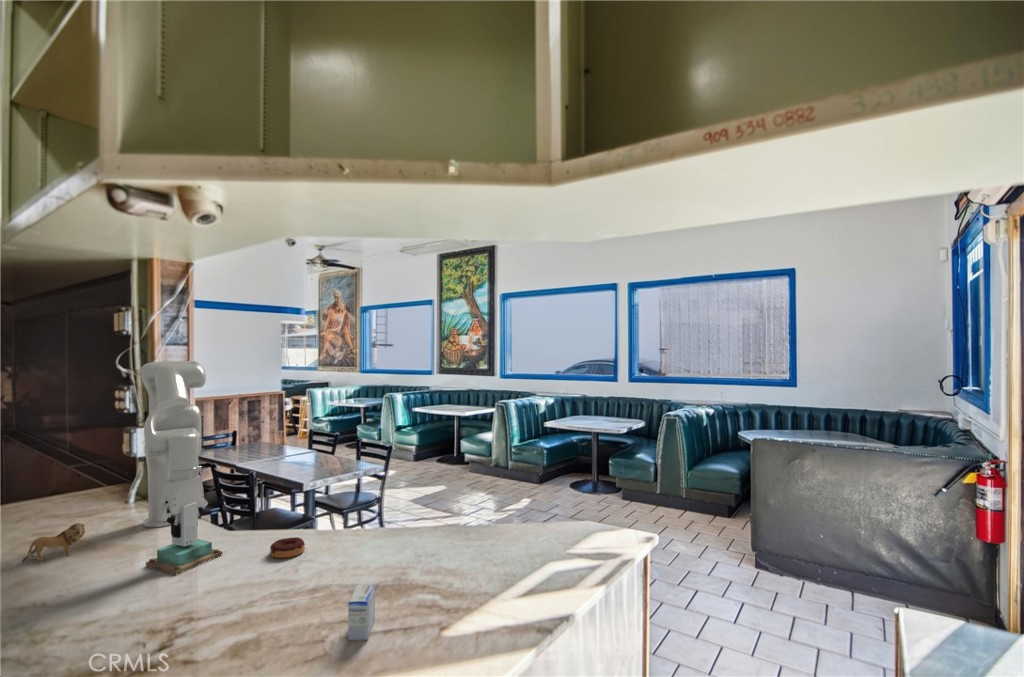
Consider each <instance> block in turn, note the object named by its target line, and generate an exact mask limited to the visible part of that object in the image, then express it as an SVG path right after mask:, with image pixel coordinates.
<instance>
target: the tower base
mask: <svg viewBox="0 0 1024 677" xmlns="http://www.w3.org/2000/svg"><path fill="white" fill-rule="evenodd" d="M221 554H222V555H223V551H222V550H220V549H214V548H213V542H212V541H207V540H204V539H199V538H198V541H197V542H195V543H192V544H189V545H187V546H181V545H177V544H173V543H172V544H169V545H166V546H164V547H161V548H158V549H156V557H157V558H150V559H149V560H148V561H146V562H145V567H146V566H147V567H146V568H149V567H151V568H150V569H153V568H154V570H156V569H157V570H156V571H160V570H161V571H160V572H163V571H164V572H163V573H166V572H167V573H166V574H170V573H172V574H171V575H173V574H175V575H174V576H177V575H176V574H178V573H180V574H182V573H181V572H183V571H185V572H187V571H189V570H188V569H190V570H192V569H194V568H196V567H198V566H197V565H199V564H201V563H203V562H205V561H208V560H210V559H213V558H215V557H217V556H219V555H221ZM217 558H218V557H217ZM215 559H216V558H215ZM213 560H214V559H213ZM210 561H211V560H210ZM208 562H209V561H208ZM203 564H204V563H203ZM201 565H202V564H201ZM195 566H196V567H195ZM199 566H200V565H199ZM193 567H194V568H193ZM191 568H192V569H191ZM186 570H187V571H186ZM183 573H184V572H183ZM178 575H179V574H178Z"/></svg>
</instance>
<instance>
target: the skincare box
mask: <svg viewBox="0 0 1024 677" xmlns="http://www.w3.org/2000/svg"><path fill="white" fill-rule="evenodd" d="M178 524H180V525H181V537H180V538H175V537H172V536H171V543H172V544H177V545H181V546H187V545H189V544H192V543H195V542H197V541H198V539H199V538H198V535H199V534H198V527H197V502H194V503H191V504H188V505H185V506H182V513H181V514H180V518H179V523H178Z"/></svg>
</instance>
